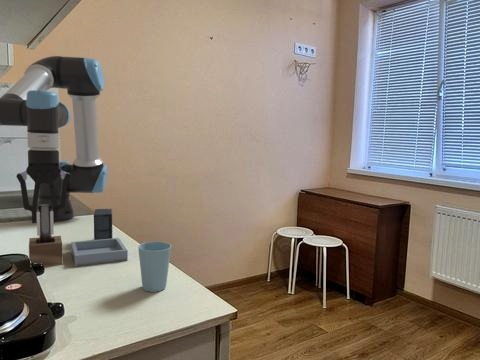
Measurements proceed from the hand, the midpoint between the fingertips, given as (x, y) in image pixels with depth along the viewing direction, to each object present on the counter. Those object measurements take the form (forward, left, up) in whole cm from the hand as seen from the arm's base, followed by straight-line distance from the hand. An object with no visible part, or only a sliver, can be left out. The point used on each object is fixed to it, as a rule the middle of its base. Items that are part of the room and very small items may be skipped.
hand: (45, 233), depth 107 cm
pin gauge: (0, 0, -4) cm, 4 cm away
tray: (0, +14, -8) cm, 16 cm away
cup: (+29, +23, -8) cm, 38 cm away
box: (-14, +17, -8) cm, 24 cm away
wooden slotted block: (0, 0, -8) cm, 8 cm away
